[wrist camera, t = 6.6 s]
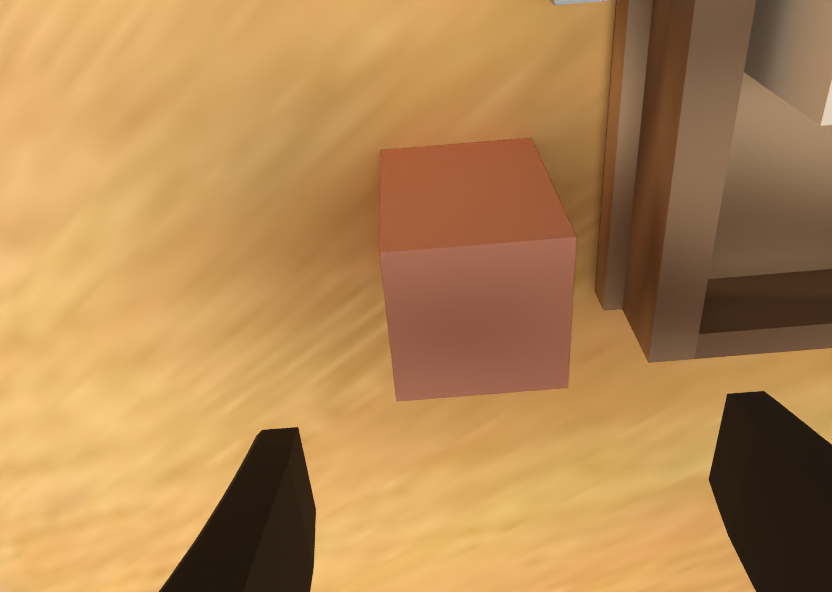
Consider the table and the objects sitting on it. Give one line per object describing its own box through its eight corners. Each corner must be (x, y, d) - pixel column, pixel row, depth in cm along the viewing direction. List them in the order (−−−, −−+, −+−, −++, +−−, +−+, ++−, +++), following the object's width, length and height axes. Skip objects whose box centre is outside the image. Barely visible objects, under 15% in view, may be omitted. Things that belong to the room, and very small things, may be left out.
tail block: (529, 266, 22) (567, 388, 17) (394, 276, 22) (396, 401, 17) (530, 137, 19) (576, 237, 15) (380, 149, 19) (379, 253, 15)
